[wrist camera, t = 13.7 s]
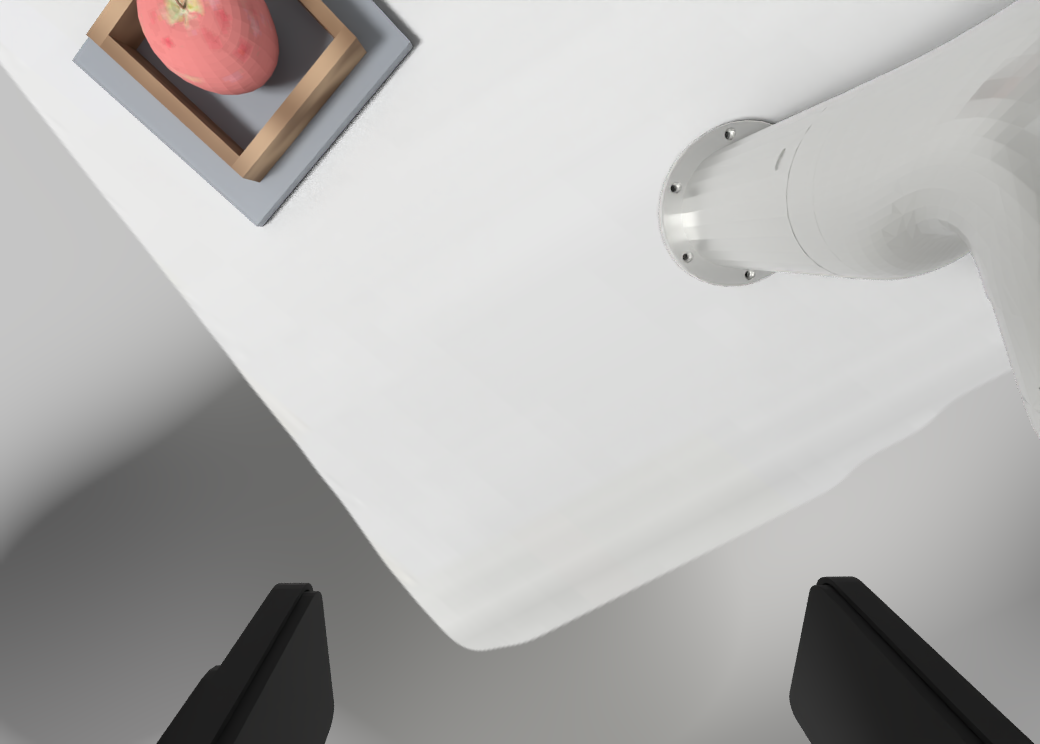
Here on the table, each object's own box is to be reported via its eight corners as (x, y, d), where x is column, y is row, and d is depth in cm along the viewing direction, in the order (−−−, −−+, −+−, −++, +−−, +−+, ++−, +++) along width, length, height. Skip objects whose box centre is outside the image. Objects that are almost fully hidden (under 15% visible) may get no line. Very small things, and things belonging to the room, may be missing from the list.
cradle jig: (234, -146, 32) (202, -192, 29) (413, 47, 35) (403, 26, 32) (84, 65, 35) (39, 46, 32) (262, 226, 38) (239, 224, 35)
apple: (181, -8, 33) (84, -84, 25) (288, -9, 33) (224, -85, 26) (202, 110, 35) (117, 72, 27) (303, 109, 35) (247, 70, 28)
